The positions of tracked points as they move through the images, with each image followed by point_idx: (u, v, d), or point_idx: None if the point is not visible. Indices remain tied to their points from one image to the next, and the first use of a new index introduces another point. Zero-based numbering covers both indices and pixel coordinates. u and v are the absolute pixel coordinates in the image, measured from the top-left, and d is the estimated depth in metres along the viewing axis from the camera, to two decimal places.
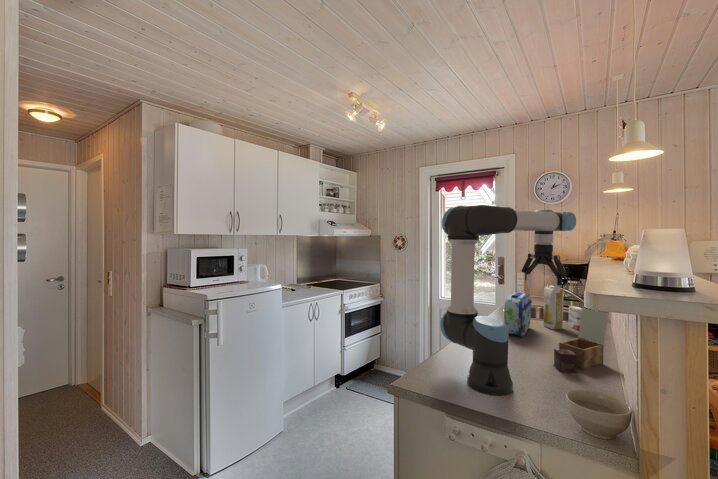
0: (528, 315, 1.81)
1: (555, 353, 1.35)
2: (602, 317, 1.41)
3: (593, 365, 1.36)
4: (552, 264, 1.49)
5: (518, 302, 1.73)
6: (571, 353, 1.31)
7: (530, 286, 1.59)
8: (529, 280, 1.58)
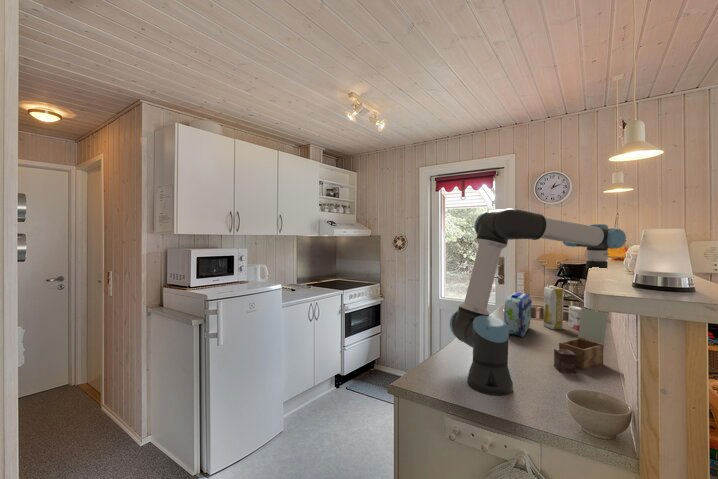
0: (528, 315, 1.81)
1: (555, 353, 1.35)
2: (602, 317, 1.41)
3: (593, 365, 1.36)
4: None
5: (518, 302, 1.73)
6: (571, 353, 1.31)
7: None
8: None
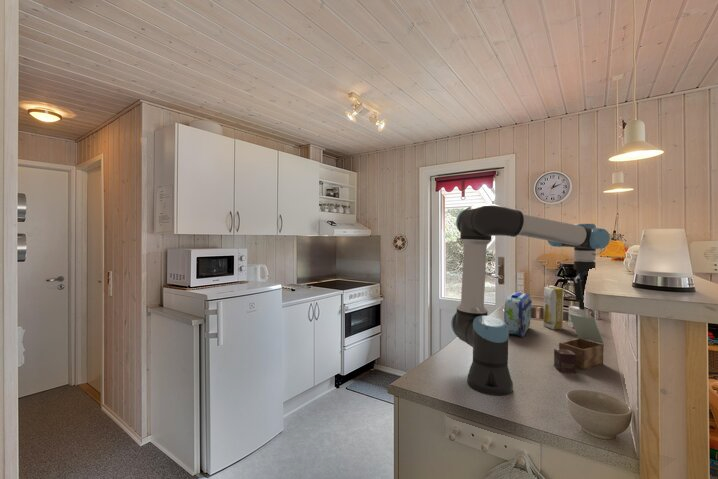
0: (528, 315, 1.81)
1: (555, 353, 1.35)
2: (591, 323, 1.37)
3: (593, 365, 1.36)
4: None
5: (518, 302, 1.73)
6: (571, 353, 1.31)
7: (584, 315, 1.40)
8: None
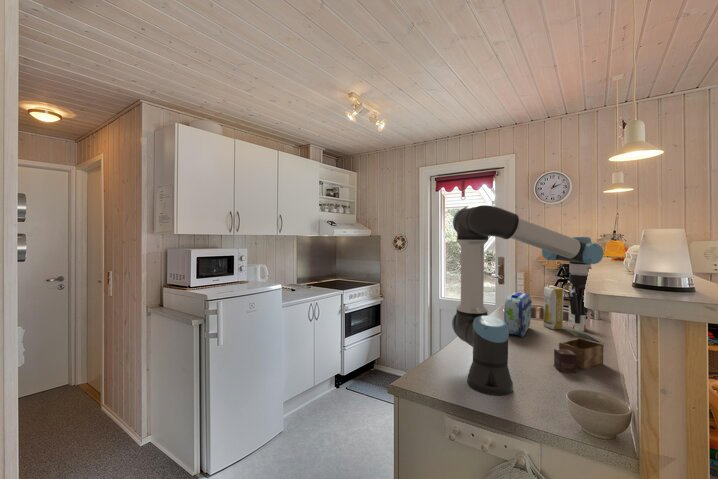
0: (528, 315, 1.81)
1: (555, 353, 1.35)
2: (586, 335, 1.36)
3: (593, 365, 1.36)
4: (577, 299, 1.37)
5: (518, 302, 1.73)
6: (571, 353, 1.31)
7: None
8: None
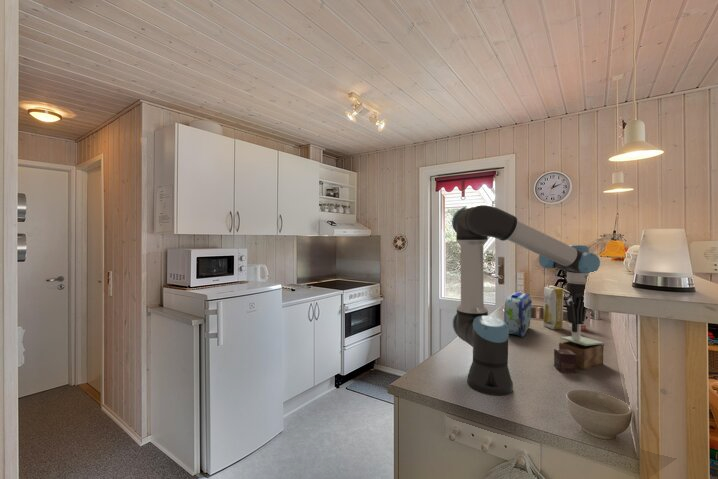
0: (528, 315, 1.81)
1: (555, 353, 1.35)
2: None
3: (593, 365, 1.36)
4: (574, 308, 1.37)
5: (518, 302, 1.73)
6: (571, 353, 1.31)
7: None
8: None
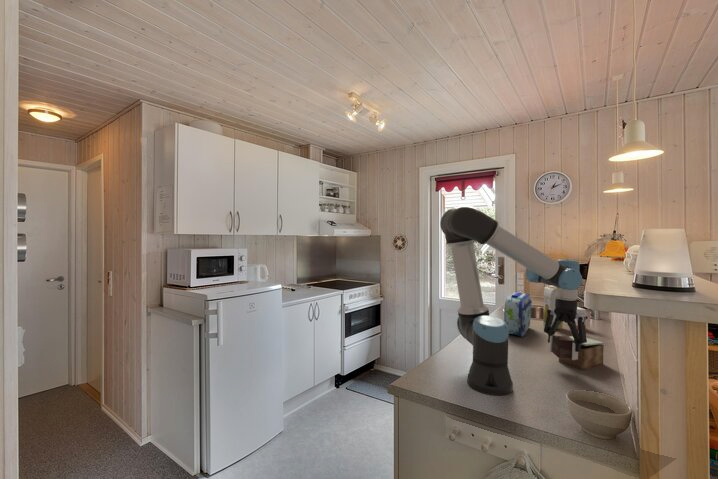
0: (528, 315, 1.81)
1: (554, 340, 1.35)
2: None
3: (593, 365, 1.36)
4: (574, 325, 1.30)
5: (518, 302, 1.73)
6: (570, 339, 1.31)
7: None
8: None
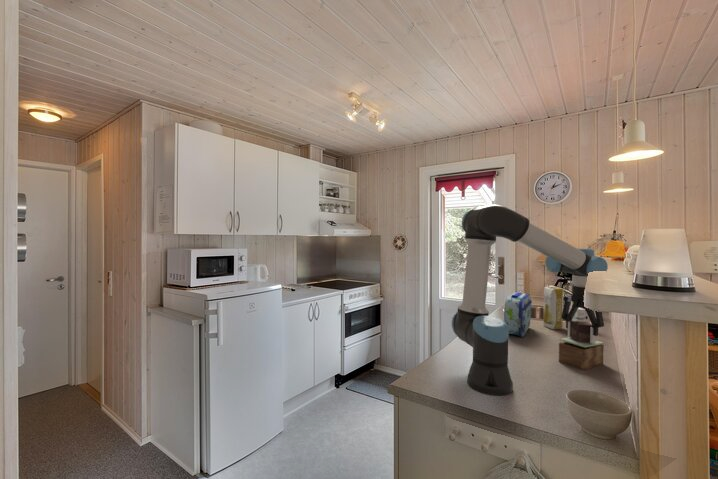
0: (528, 315, 1.81)
1: (572, 325, 1.42)
2: None
3: (593, 365, 1.36)
4: (591, 310, 1.37)
5: (518, 302, 1.73)
6: (588, 324, 1.38)
7: None
8: None
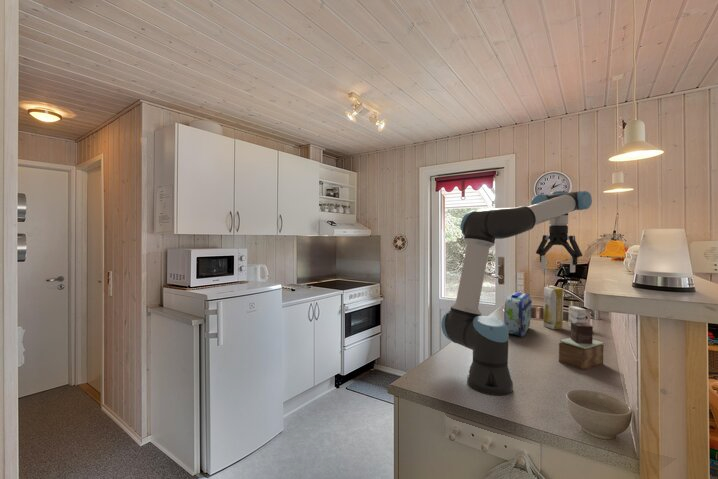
0: (528, 315, 1.81)
1: (572, 326, 1.42)
2: None
3: (593, 365, 1.36)
4: (567, 244, 1.52)
5: (518, 302, 1.73)
6: (588, 325, 1.38)
7: (545, 267, 1.62)
8: (544, 261, 1.61)
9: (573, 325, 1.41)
